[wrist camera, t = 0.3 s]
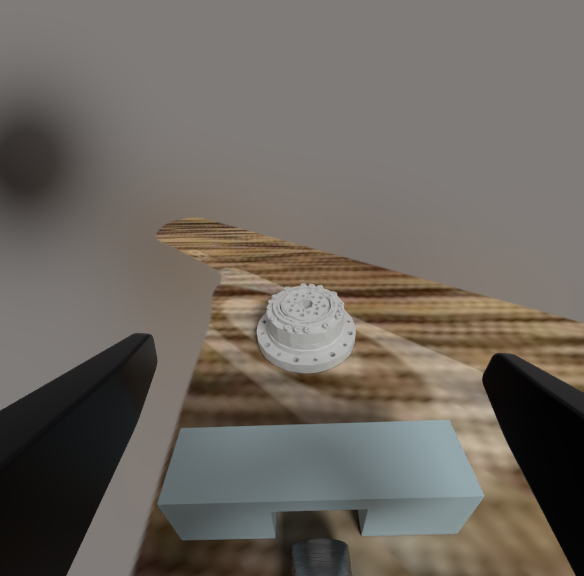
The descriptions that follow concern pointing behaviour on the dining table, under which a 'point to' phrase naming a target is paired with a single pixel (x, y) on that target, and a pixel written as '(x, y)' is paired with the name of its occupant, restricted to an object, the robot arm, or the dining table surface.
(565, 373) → the dining table surface
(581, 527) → the robot arm
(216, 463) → the block
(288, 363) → the mechanical component
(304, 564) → the pin
